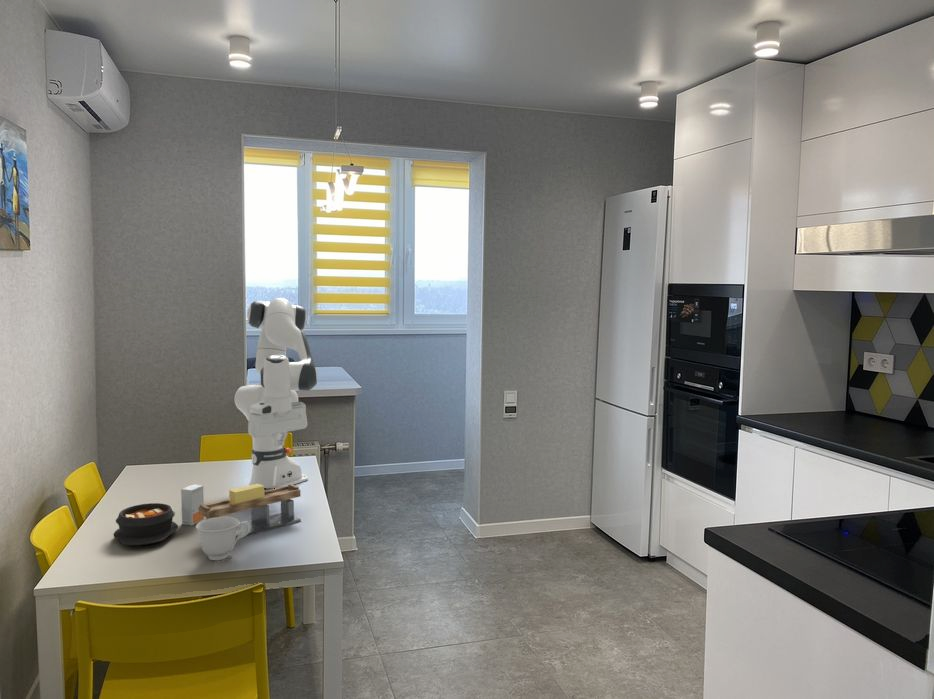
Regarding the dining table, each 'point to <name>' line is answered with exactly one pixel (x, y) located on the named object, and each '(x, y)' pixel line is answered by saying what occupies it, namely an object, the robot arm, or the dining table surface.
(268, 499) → the balance plank
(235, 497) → the slider block
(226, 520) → the teacup
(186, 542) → the dining table surface
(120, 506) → the dining table surface
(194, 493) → the skincare box
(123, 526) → the casserole
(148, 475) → the dining table surface
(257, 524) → the fulcrum stand
